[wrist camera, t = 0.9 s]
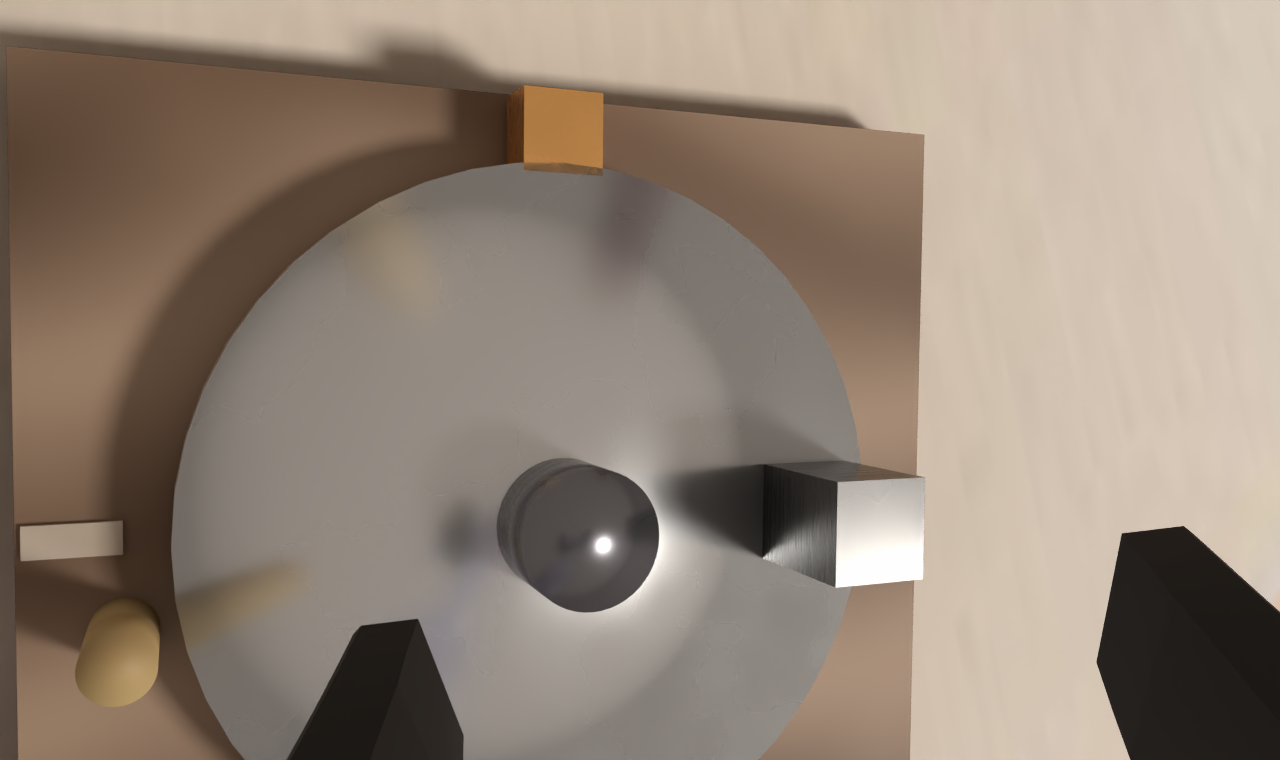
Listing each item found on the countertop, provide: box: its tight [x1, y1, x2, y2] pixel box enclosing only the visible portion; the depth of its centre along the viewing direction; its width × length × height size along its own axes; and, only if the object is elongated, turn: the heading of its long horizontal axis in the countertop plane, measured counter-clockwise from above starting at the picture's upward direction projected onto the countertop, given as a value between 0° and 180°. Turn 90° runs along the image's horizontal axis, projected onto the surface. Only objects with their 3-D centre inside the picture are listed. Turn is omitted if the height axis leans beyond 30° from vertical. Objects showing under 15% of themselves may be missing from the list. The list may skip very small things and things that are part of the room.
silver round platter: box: [171, 85, 925, 760], centre depth 20 cm, size 15×14×4 cm
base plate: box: [6, 46, 924, 760], centre depth 22 cm, size 17×19×4 cm
